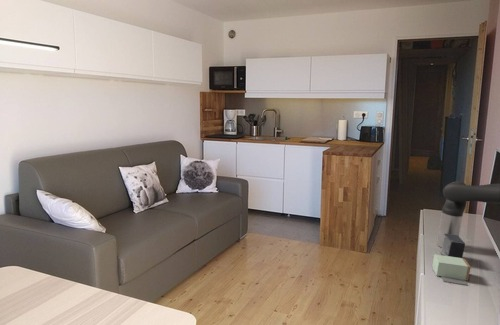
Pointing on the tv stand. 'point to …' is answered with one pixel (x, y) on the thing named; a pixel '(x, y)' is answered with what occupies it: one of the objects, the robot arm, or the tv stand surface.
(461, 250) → the small box
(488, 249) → the tv stand surface
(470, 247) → the tv stand surface
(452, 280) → the mat
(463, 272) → the sage block
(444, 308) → the tv stand surface
